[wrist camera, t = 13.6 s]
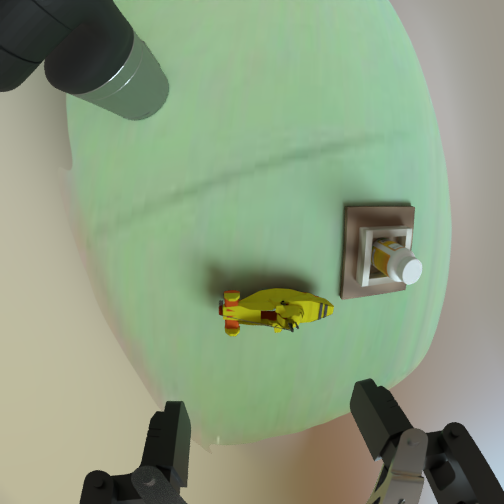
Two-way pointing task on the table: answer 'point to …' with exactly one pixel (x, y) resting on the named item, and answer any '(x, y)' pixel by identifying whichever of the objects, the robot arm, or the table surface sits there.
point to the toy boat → (285, 316)
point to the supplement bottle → (395, 261)
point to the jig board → (360, 247)
